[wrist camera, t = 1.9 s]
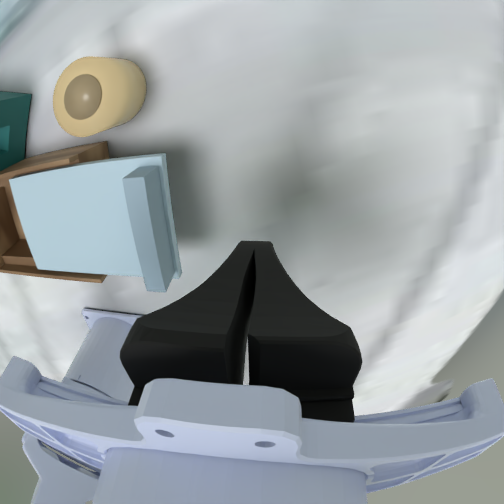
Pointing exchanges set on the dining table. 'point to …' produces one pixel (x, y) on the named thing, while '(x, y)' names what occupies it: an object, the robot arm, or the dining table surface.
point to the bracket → (13, 127)
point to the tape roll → (98, 95)
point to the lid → (102, 218)
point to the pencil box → (8, 222)
